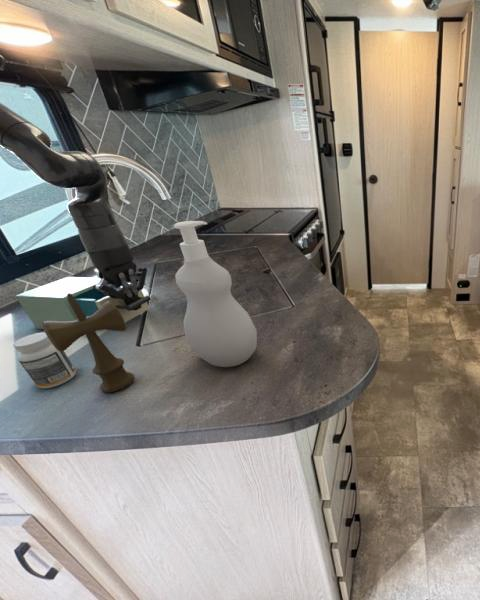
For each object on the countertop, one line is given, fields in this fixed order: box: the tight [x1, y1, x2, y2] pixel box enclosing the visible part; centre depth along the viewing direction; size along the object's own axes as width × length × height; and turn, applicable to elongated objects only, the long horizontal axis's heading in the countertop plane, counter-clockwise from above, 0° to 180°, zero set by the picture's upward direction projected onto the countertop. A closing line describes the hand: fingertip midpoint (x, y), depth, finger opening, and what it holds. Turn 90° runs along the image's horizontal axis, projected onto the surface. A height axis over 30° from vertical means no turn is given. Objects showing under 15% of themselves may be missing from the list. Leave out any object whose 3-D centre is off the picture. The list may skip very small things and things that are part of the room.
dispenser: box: [15, 276, 100, 330], centre depth 83 cm, size 14×12×10 cm
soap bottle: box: [173, 220, 258, 368], centre depth 62 cm, size 17×12×29 cm
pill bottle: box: [12, 331, 77, 389], centre depth 61 cm, size 6×6×10 cm
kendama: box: [42, 293, 135, 393], centre depth 57 cm, size 6×10×20 cm, turn 143°
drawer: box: [67, 284, 152, 323], centre depth 82 cm, size 17×11×8 cm, turn 82°
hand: (136, 309), depth 82 cm, fingers closed
